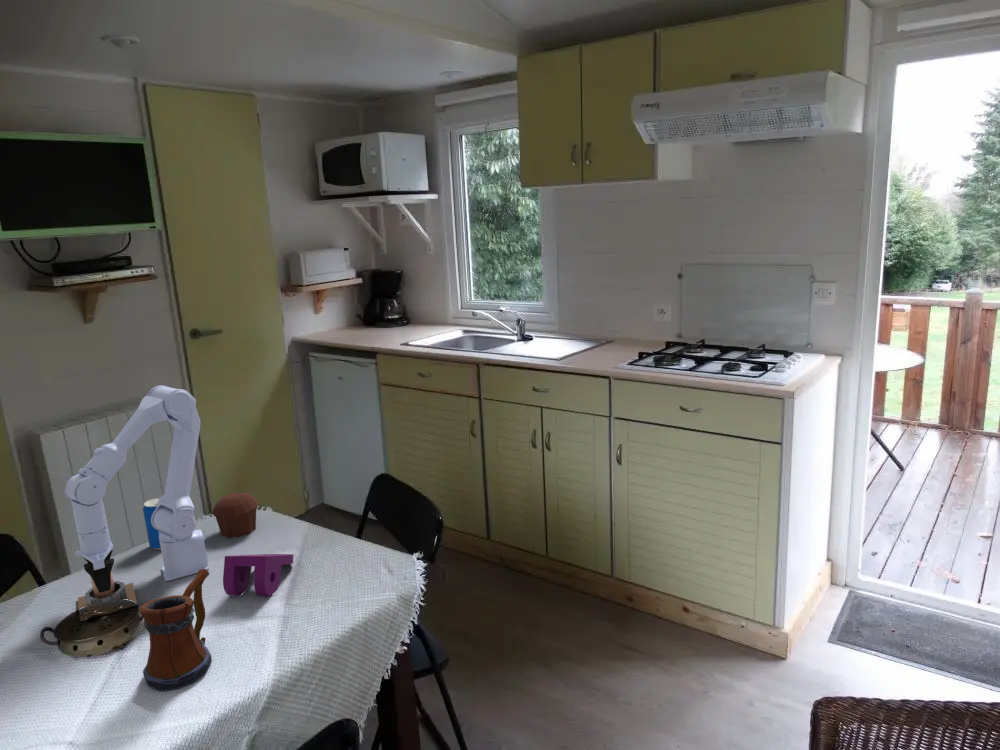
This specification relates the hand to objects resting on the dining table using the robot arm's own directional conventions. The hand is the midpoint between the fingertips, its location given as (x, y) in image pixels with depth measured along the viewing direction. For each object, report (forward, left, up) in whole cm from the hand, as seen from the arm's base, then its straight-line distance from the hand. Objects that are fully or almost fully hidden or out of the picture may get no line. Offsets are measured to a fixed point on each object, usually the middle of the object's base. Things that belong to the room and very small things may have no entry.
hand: (104, 586), depth 156 cm
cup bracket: (0, 0, -4) cm, 4 cm away
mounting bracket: (-31, +11, -4) cm, 34 cm away
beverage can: (-14, -24, -4) cm, 28 cm away
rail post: (0, 0, -2) cm, 2 cm away
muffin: (-32, -21, -4) cm, 39 cm away
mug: (-12, +34, -4) cm, 36 cm away
